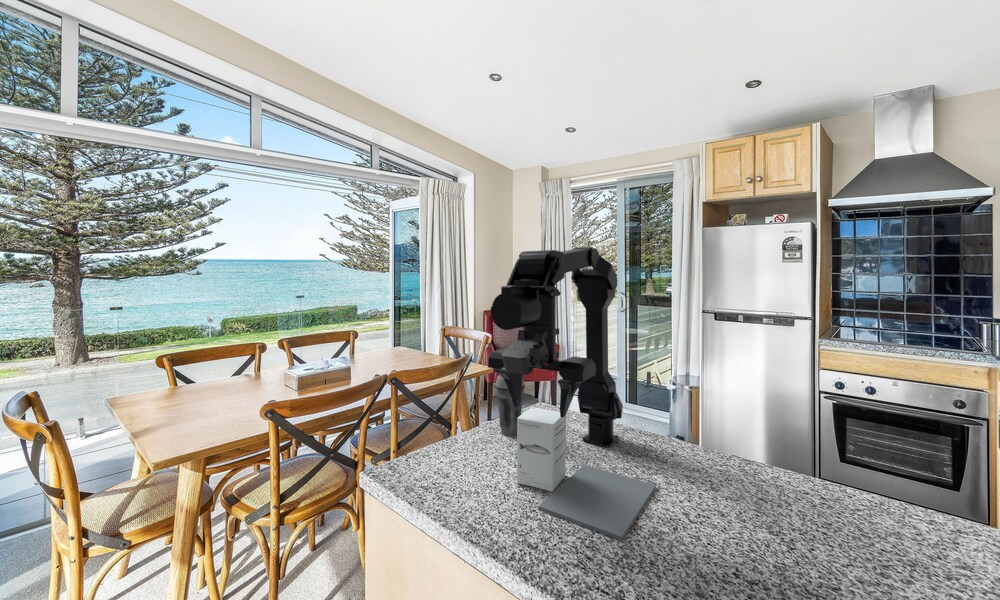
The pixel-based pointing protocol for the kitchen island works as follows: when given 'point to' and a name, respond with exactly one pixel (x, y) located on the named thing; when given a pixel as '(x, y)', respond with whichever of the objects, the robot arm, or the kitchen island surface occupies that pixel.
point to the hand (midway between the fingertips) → (539, 411)
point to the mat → (599, 501)
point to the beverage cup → (507, 408)
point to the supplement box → (541, 448)
